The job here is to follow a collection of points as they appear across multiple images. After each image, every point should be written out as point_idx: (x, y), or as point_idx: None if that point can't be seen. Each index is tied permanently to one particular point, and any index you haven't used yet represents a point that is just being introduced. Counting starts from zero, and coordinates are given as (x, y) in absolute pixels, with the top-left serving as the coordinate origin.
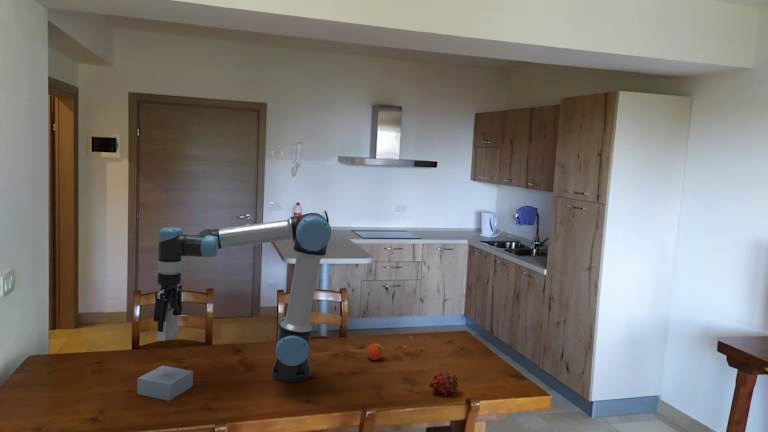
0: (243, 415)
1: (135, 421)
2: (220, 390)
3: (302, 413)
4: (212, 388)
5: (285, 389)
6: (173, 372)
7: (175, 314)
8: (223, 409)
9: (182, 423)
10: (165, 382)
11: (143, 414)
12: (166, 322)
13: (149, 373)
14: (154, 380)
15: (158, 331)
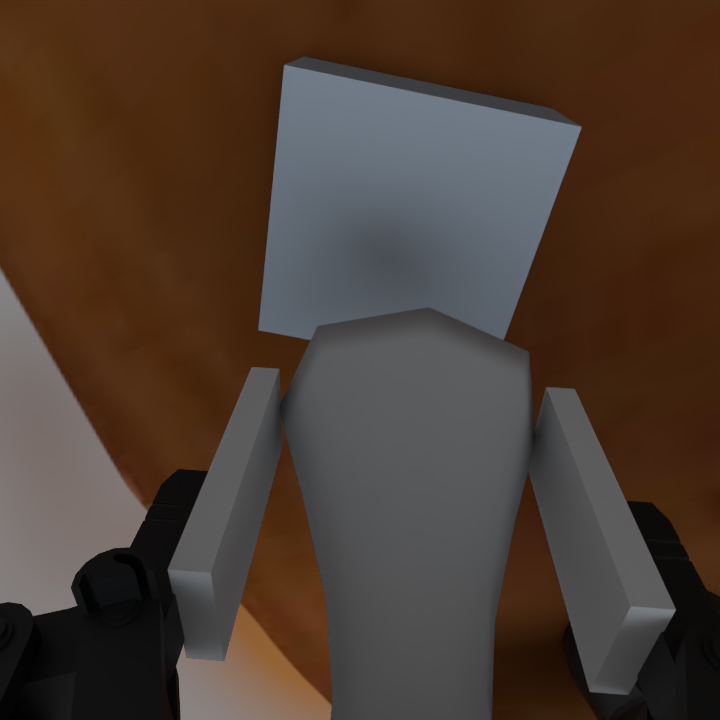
0: (250, 572)
1: (22, 237)
2: None
3: (320, 688)
4: None
5: (496, 637)
6: (449, 271)
7: (651, 682)
8: (272, 511)
9: (106, 423)
10: (279, 295)
11: (97, 237)
12: (325, 597)
13: (397, 109)
14: (286, 214)
15: (179, 477)
